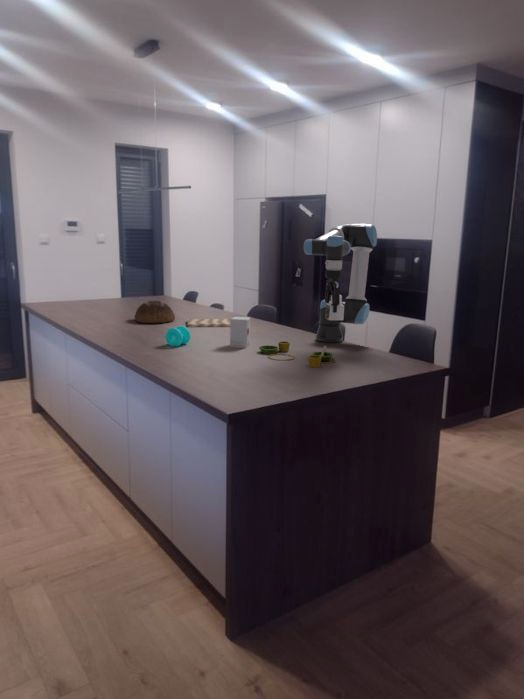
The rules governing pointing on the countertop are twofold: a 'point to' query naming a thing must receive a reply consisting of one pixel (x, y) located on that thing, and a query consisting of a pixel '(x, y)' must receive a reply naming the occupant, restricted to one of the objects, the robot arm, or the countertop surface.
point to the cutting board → (208, 322)
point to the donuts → (177, 336)
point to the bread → (154, 313)
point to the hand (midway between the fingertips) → (331, 317)
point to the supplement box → (240, 332)
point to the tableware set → (284, 346)
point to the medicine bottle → (339, 309)
